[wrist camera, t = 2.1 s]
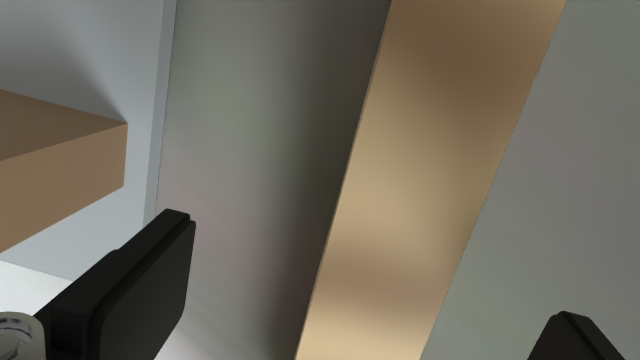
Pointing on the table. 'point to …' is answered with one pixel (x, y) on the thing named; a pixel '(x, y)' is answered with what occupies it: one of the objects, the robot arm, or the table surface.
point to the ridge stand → (80, 127)
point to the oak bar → (421, 169)
